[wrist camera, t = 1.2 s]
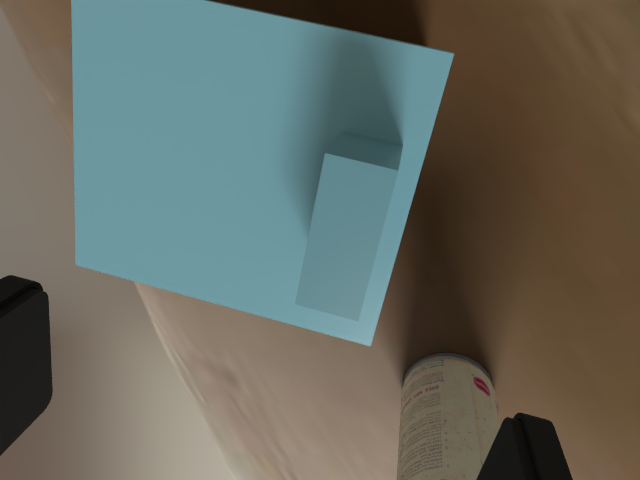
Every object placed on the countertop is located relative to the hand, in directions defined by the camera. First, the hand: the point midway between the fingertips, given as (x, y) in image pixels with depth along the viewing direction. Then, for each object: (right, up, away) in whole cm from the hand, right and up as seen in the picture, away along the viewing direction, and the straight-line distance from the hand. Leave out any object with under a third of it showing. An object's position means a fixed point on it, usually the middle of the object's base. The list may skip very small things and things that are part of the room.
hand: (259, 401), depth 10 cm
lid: (-2, +7, +14) cm, 15 cm away
